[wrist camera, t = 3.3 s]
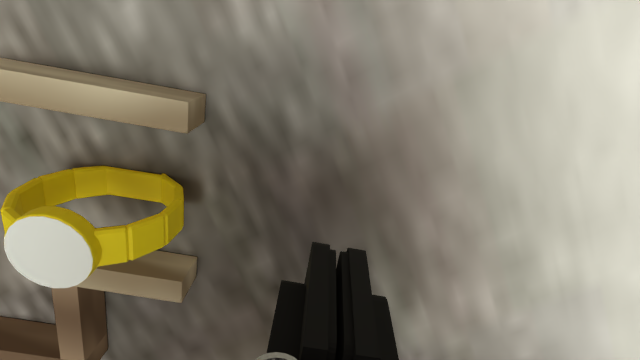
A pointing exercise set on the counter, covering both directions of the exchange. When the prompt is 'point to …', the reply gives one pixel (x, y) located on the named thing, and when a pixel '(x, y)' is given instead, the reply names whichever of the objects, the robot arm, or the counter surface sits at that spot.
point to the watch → (84, 223)
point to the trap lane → (125, 278)
